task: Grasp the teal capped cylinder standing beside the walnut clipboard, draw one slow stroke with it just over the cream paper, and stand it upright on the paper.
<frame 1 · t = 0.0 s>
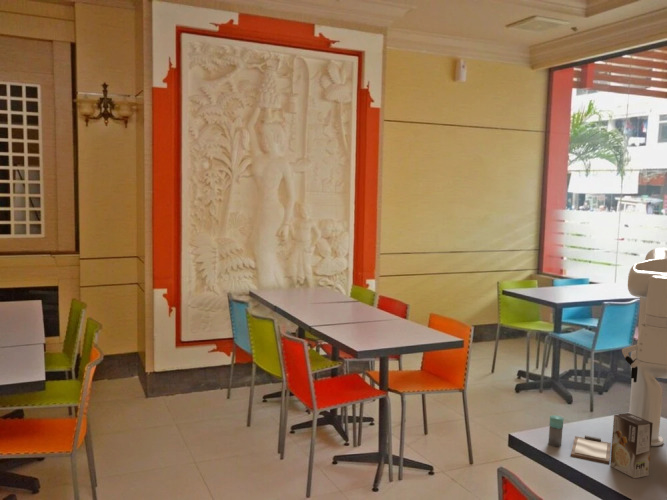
hand: (654, 384, 165), 31 cm above the table, tool pointing down, fingers open, 9 cm apart
teal capped cylinder: (554, 444, 201), on the table
clipboard: (591, 450, 197), on the table
coffee box: (628, 471, 183), on the table
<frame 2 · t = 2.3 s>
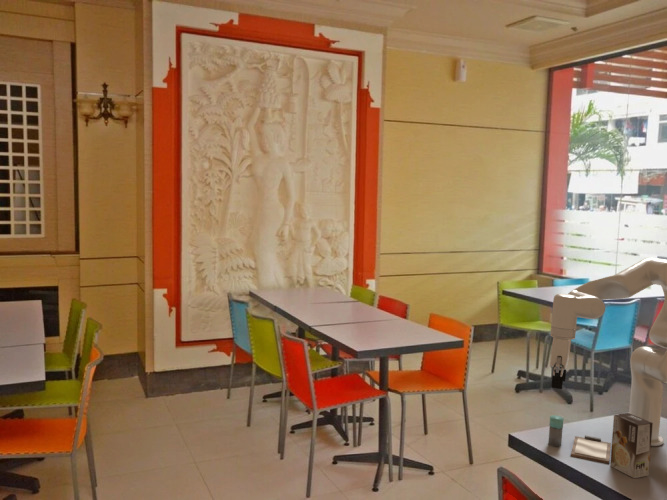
hand: (558, 384, 199), 20 cm above the table, tool pointing down, fingers open, 9 cm apart
nothing on the table moved.
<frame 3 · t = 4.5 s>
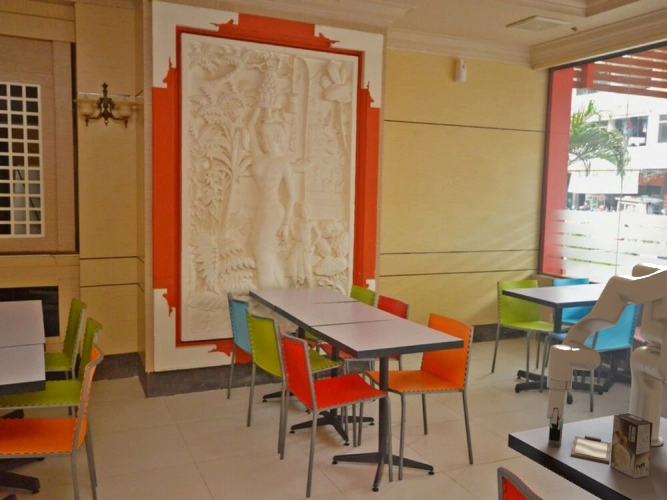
hand: (555, 437, 200), 2 cm above the table, tool pointing down, fingers closed on teal capped cylinder, 4 cm apart
teal capped cylinder: (554, 444, 201), on the table, touching gripper
everything else where it was.
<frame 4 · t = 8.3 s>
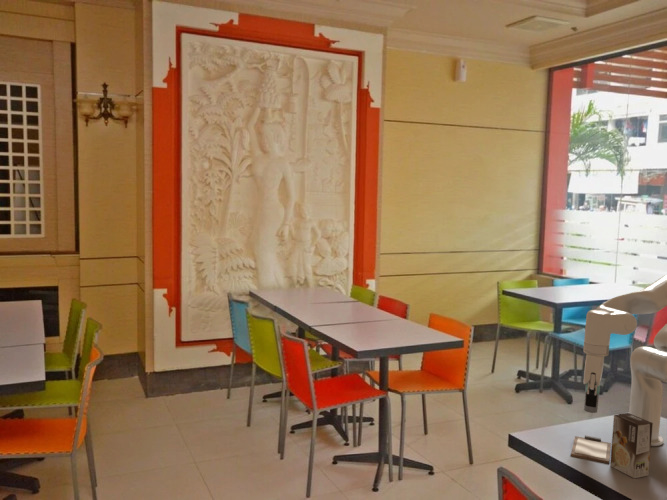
hand: (591, 403, 199), 14 cm above the table, tool pointing down, fingers closed on teal capped cylinder, 4 cm apart
teal capped cylinder: (590, 410, 199), point 12 cm above the table, touching gripper
everything else where it was.
when the fingers open (5 cm above the table, at t = 12.0 s): teal capped cylinder drops 1 cm, resting on clipboard.
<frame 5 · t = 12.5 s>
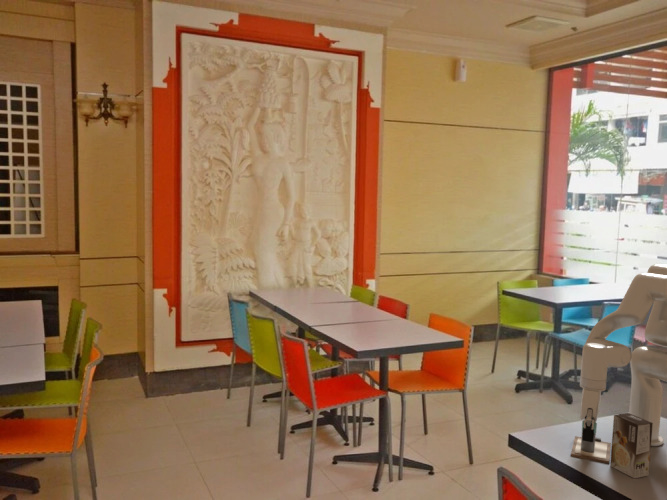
hand: (588, 435, 194), 6 cm above the table, tool pointing down, fingers open, 9 cm apart
teal capped cylinder: (587, 449, 194), point 1 cm above the table, touching clipboard
everything else where it was.
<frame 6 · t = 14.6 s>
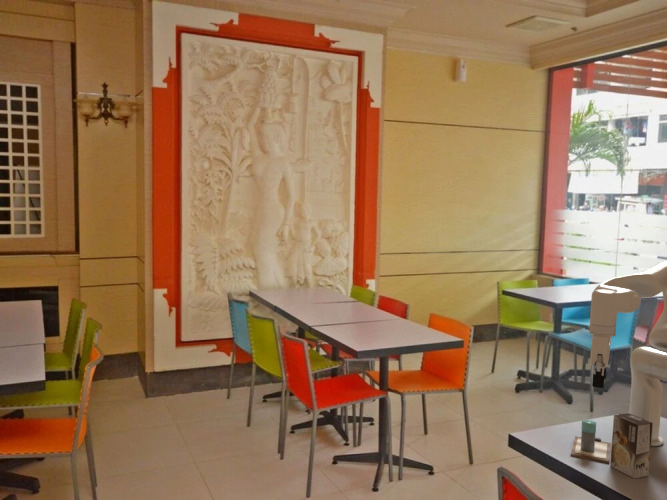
hand: (599, 382, 192), 23 cm above the table, tool pointing down, fingers open, 9 cm apart
nothing on the table moved.
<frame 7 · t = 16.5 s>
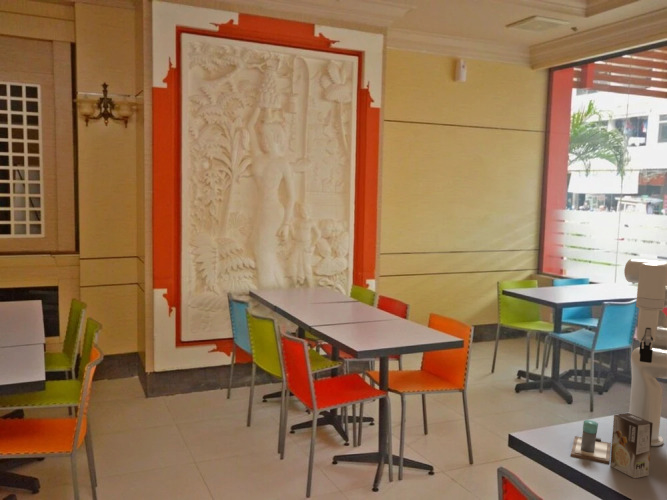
hand: (645, 358, 188), 32 cm above the table, tool pointing down, fingers open, 9 cm apart
nothing on the table moved.
at the end: teal capped cylinder inside the target area on the clipboard (3.3 cm from its centre), point 1.2 cm above the clipboard's base; teal capped cylinder tilted 2°; the gripper is holding nothing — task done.
